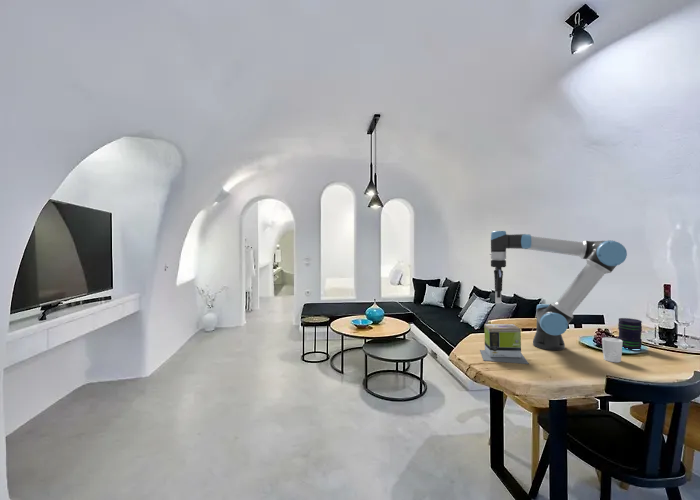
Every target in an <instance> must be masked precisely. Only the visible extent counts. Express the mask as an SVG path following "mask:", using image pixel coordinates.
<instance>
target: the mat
mask: <svg viewBox="0 0 700 500" xmlns="http://www.w3.org/2000/svg"><path fill="white" fill-rule="evenodd" d="M479 352H480V356H481V357H482V360H483V361H485V362H486V361H487V362H495V363H497V362H498V363H508V364H509V363H510V364H511V363H512V364H525V365H529V364H530V363H529V362H528V360H527V359H526V358H525V356H524V354H523V353H522V352H521V358H517V357H490V356H489V355H488V354H487V353H486V351H485V349H479Z"/></svg>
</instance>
